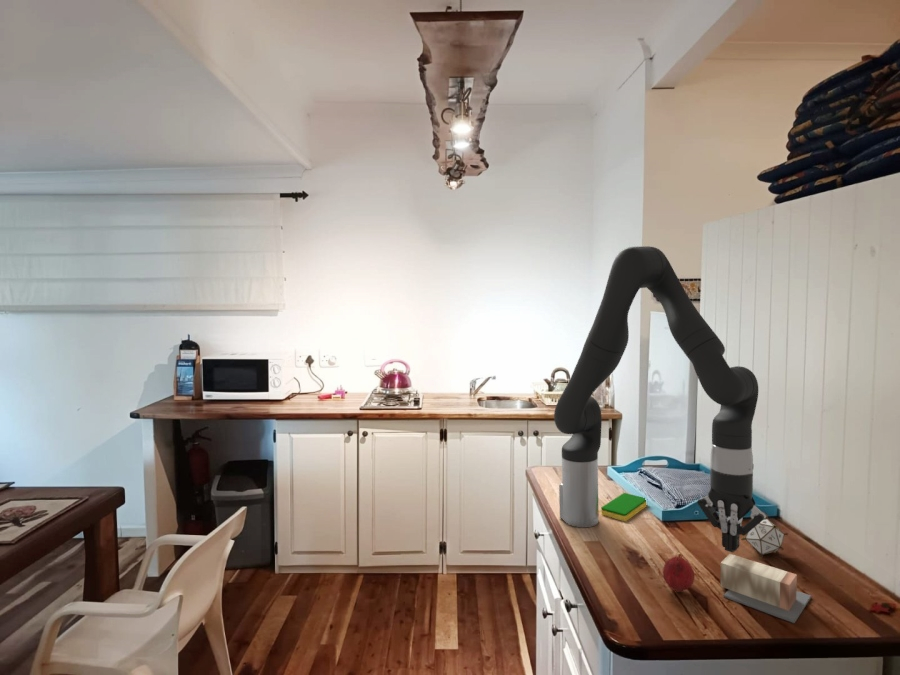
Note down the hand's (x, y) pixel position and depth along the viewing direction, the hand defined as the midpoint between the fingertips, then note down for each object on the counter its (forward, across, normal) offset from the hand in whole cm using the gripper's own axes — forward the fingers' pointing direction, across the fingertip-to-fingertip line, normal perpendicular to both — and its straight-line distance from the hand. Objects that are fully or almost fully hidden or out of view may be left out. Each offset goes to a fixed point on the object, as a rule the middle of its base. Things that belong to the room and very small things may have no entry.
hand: (730, 550), depth 108 cm
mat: (+8, +6, 0) cm, 10 cm away
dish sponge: (+8, -34, +20) cm, 41 cm away
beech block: (+5, -1, 0) cm, 5 cm away
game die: (+8, 0, +19) cm, 21 cm away
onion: (+8, -7, -9) cm, 14 cm away
